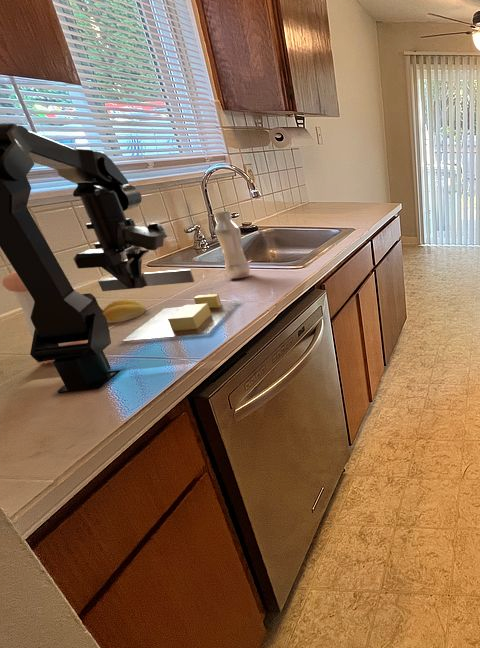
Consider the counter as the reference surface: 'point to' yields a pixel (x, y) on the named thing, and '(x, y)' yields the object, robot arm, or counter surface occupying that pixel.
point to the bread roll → (123, 310)
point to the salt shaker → (26, 302)
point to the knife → (149, 280)
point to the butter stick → (189, 317)
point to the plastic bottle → (231, 246)
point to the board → (162, 329)
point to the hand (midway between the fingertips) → (134, 286)
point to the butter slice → (208, 300)
